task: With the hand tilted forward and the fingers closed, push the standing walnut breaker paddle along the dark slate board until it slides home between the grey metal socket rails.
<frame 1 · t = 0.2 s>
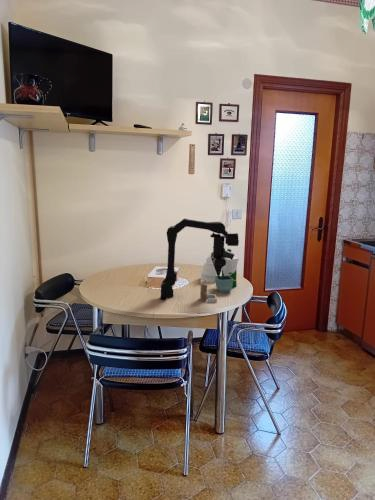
hand: (217, 273, 206), 15 cm above the table, tool pointing down, fingers open, 9 cm apart
milk carton: (228, 286, 235), on the table
slate board: (200, 301, 205), on the table
white rounded cone: (210, 279, 249), on the table
flower pot: (223, 292, 221), on the table
breaker paddle: (203, 290, 203), point 6 cm above the table, slide at 0.0 cm
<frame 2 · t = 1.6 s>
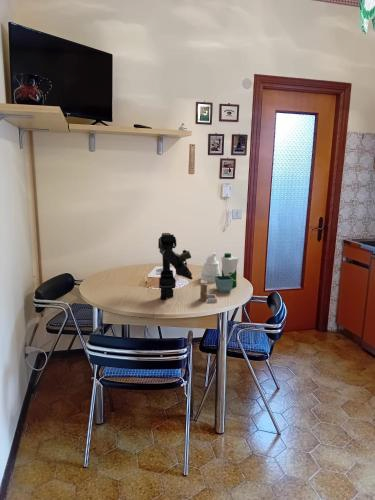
hand: (191, 277, 202), 14 cm above the table, tool tilted 45°, fingers open, 7 cm apart
nothing on the table moved.
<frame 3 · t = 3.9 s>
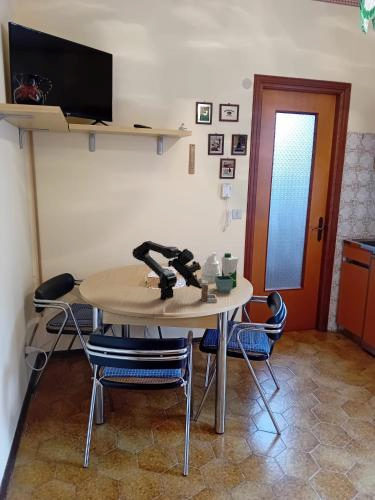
hand: (201, 288, 202), 8 cm above the table, tool tilted 45°, fingers closed
breaker paddle: (204, 290, 203), point 6 cm above the table, slide at 0.6 cm, touching gripper
everything else where it was.
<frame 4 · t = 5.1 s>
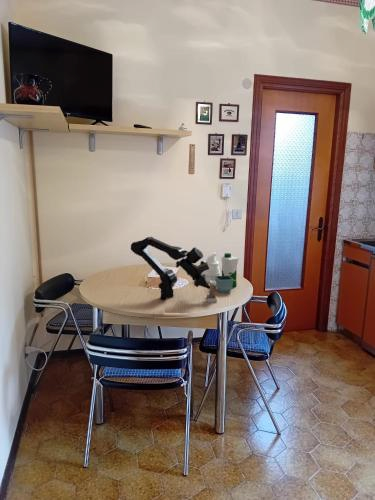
hand: (209, 288, 203), 8 cm above the table, tool tilted 45°, fingers closed, pressing on breaker paddle
breaker paddle: (212, 290, 203), point 6 cm above the table, slide at 4.9 cm, touching gripper
everything else where it was.
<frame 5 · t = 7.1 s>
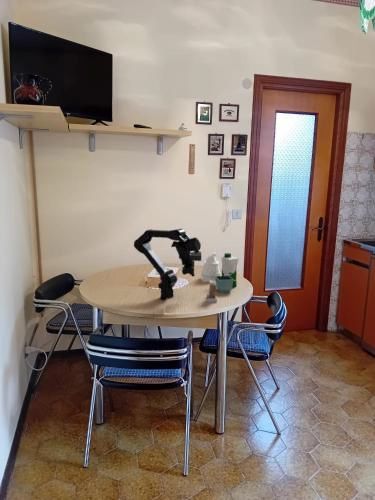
hand: (193, 276, 206), 13 cm above the table, tool tilted 25°, fingers closed
breaker paddle: (212, 290, 203), point 6 cm above the table, slide at 4.8 cm
everything else where it was.
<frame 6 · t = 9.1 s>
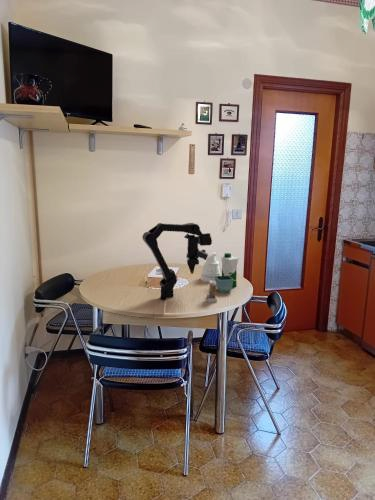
hand: (192, 273, 211), 13 cm above the table, tool pointing down, fingers closed
nothing on the table moved.
at the end: breaker paddle slide at 4.8 cm; breaker paddle 0.6 cm from the target spot, point 6.2 cm above the table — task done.
